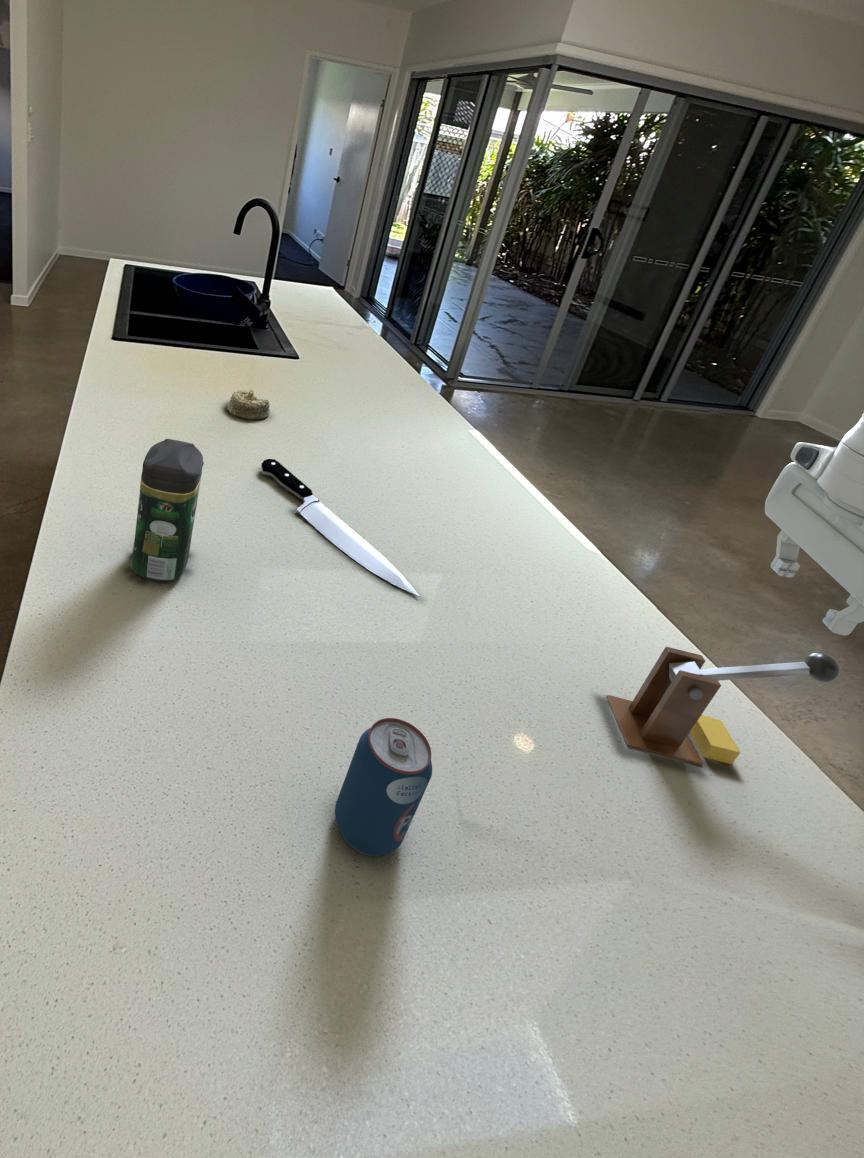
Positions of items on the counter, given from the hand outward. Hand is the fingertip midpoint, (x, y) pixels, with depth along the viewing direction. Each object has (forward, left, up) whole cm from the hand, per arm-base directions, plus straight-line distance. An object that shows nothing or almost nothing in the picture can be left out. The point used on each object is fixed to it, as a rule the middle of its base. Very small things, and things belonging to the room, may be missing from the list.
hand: (805, 599), depth 68 cm
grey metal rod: (-3, -3, -14) cm, 15 cm away
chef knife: (+47, -34, -26) cm, 63 cm away
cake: (+69, -74, -26) cm, 104 cm away
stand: (+4, -3, -26) cm, 26 cm away
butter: (-3, -3, -26) cm, 26 cm away
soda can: (+40, +20, -26) cm, 51 cm away
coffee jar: (+71, -12, -26) cm, 76 cm away
